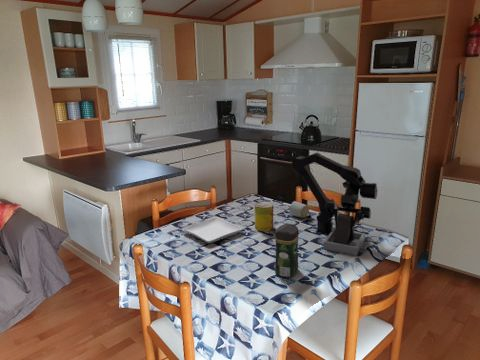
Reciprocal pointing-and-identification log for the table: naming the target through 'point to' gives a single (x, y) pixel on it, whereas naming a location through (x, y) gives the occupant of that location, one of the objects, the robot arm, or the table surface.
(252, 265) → the table surface
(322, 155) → the robot arm
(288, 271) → the coffee jar
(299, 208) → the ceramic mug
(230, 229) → the salad plate
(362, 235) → the box
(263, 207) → the yellow green jar
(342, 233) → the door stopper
